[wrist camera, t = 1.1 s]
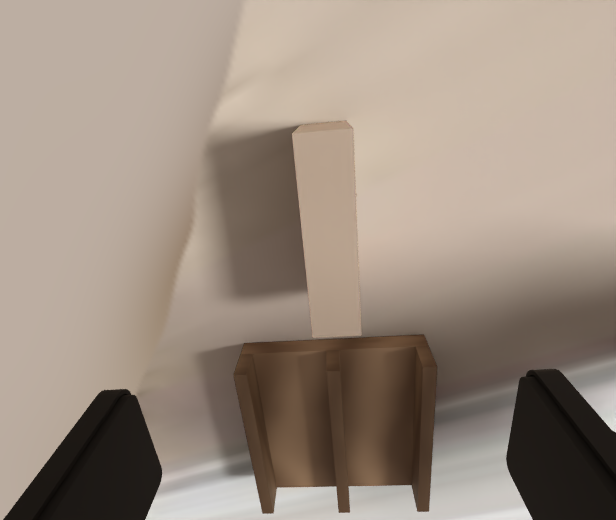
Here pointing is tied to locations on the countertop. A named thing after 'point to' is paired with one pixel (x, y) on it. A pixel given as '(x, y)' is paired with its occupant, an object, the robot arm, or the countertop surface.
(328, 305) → the beige rectangular block
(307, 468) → the walnut rack
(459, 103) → the countertop surface
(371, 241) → the countertop surface
